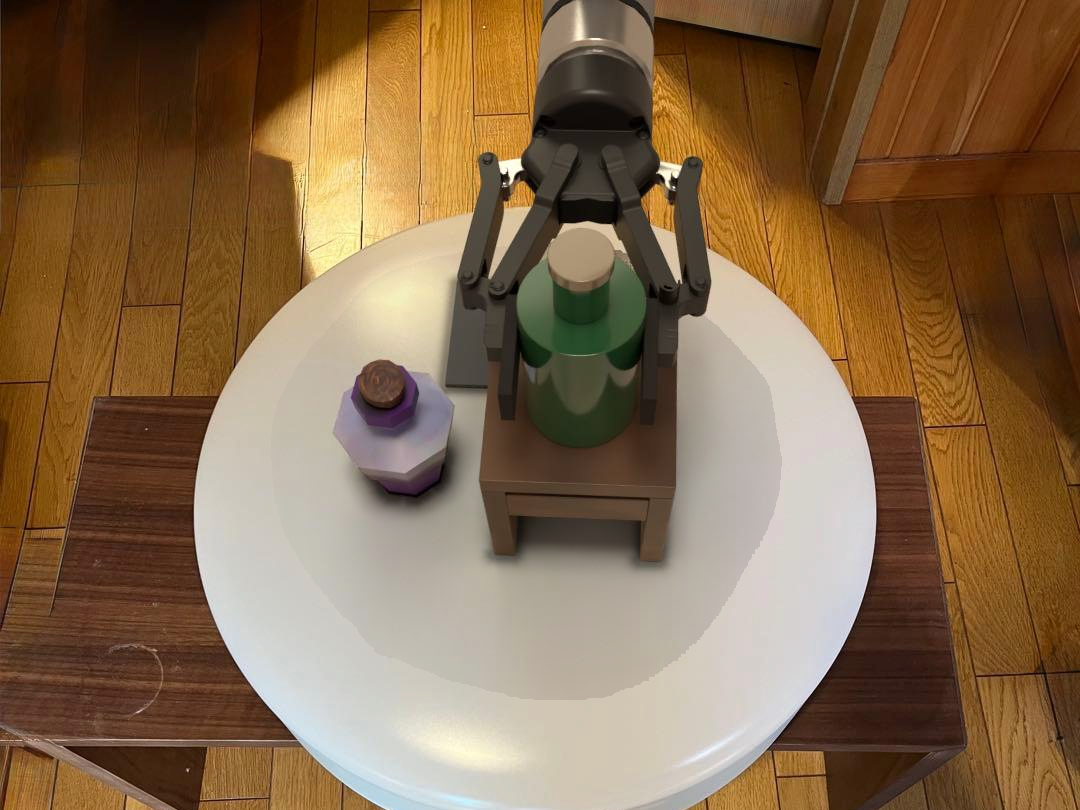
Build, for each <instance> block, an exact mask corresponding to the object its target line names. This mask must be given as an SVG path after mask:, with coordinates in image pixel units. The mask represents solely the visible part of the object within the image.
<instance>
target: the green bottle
mask: <svg viewBox="0 0 1080 810" xmlns="http://www.w3.org/2000/svg"><path fill="white" fill-rule="evenodd" d="M546 255H547V256H546V258H544V259H542V260H541V261H540V262H539V263H538V264H537V265H536V266H535V267H534V268H532V269H531V270H530V272H529V273H528V274H527V275H526V277H525V278H524V279H523V281H522V283H521V285H520V287H519V290H518V293H517V299H516V312H517V322H518V332H519V342H520V352H521V362H522V372H523V382H524V392H525V402H526V409H527V412H528V415H529V418H530V420H531V422H532V423H533V425H534V426H535V427H536V428H537V430H538V431H539V432H540V433H542V434H543V435H544V436H545V437H547V438H548V439H550V440H551V441H554V442H556V443H558V444H561V445H564V446H569V447H576V448H587V447H593V446H597V445H601V444H603V443H606V442H608V441H610V440H612V439H614V438H615V437H616V436H618V435H619V434H620V433H621V432H622V431H623V430H624V429H625V428H626V427H627V426H628V425H629V423H630V421H631V420H632V418H633V415H634V413H635V409H636V403H637V393H638V384H639V374H640V364H641V354H642V344H643V335H644V325H645V315H646V304H647V302H646V294H645V290H644V287H643V285H642V282H641V281H640V279H639V277H638V276H637V275H636V273H635V271H634V269H633V268H632V267H630V265H628V264H627V263H625V262H624V261H622V260H621V259H619V258H617V257H616V251H615V247H614V246H613V243H612V242H611V240H610V239H609V238H608V236H606V235H605V234H604V233H602V232H600V231H598V230H595V229H592V228H587V227H576V228H571V229H568V230H565V231H563V232H562V233H559V234H558V236H557V237H556V238H555V239H552V241H551V242H550V244H549V246H548V248H547V253H546Z"/></svg>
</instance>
